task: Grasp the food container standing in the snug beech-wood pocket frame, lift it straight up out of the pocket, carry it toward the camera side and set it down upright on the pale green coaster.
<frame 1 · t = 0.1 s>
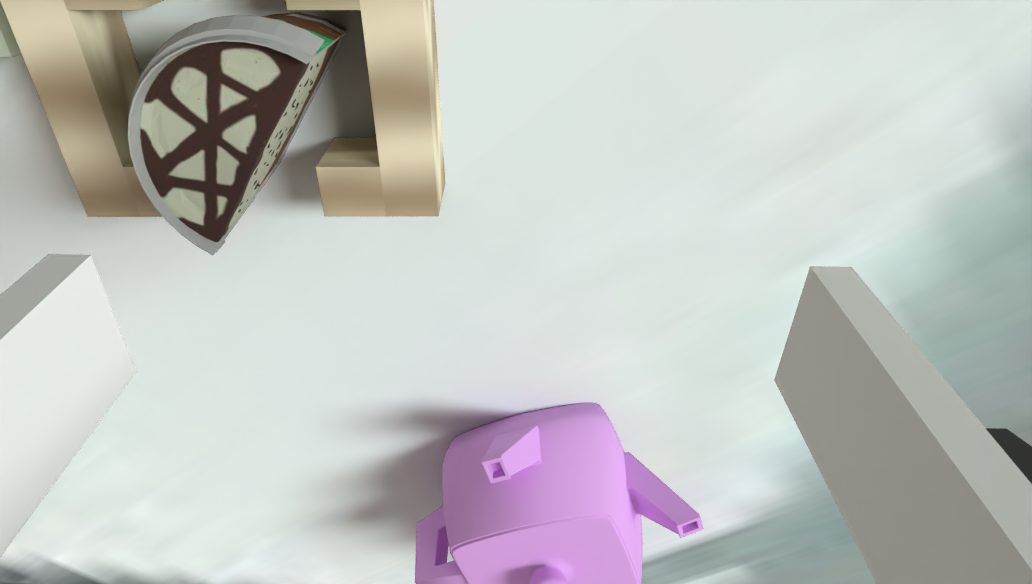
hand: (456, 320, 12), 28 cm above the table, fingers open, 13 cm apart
pocket frame: (262, 69, 37), on the table
teakettle: (545, 454, 55), on the table
food container: (263, 68, 37), on the table
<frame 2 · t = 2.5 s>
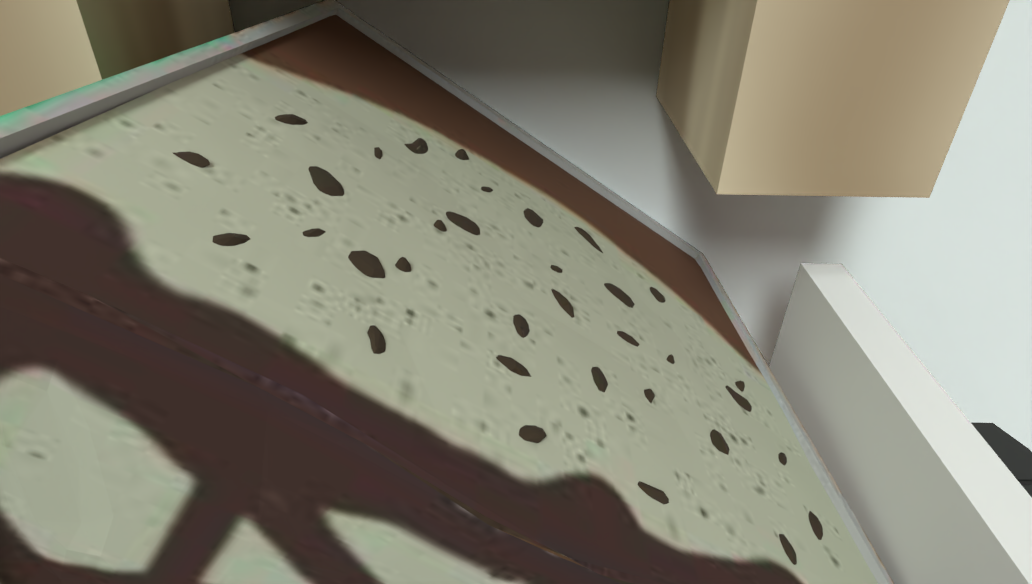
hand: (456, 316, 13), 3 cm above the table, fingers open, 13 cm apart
pocket frame: (457, 248, 15), on the table
food container: (458, 243, 15), on the table, touching gripper
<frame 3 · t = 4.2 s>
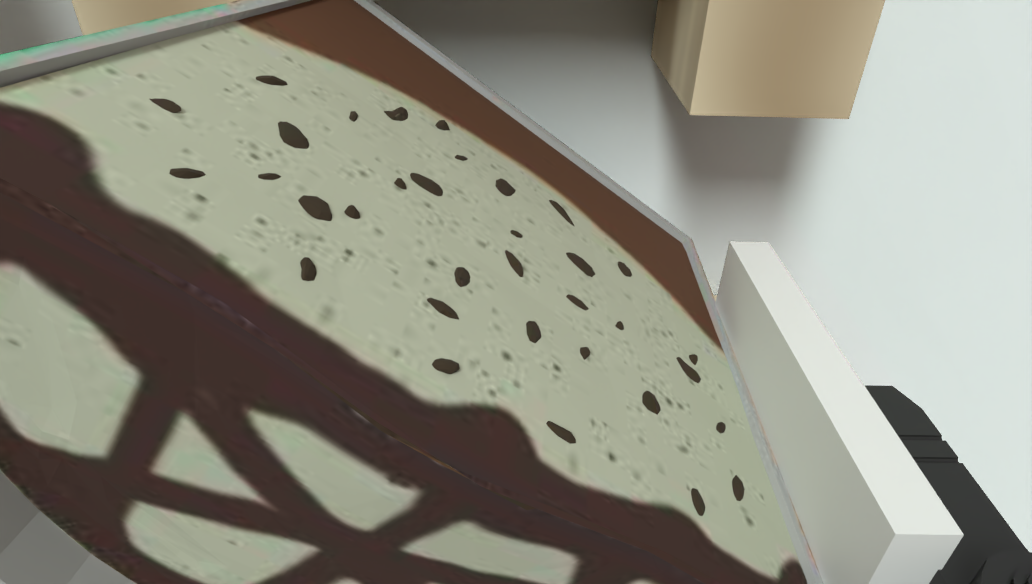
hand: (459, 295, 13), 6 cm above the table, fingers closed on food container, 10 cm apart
pocket frame: (488, 183, 18), on the table
food container: (456, 215, 16), point 3 cm above the table, touching gripper
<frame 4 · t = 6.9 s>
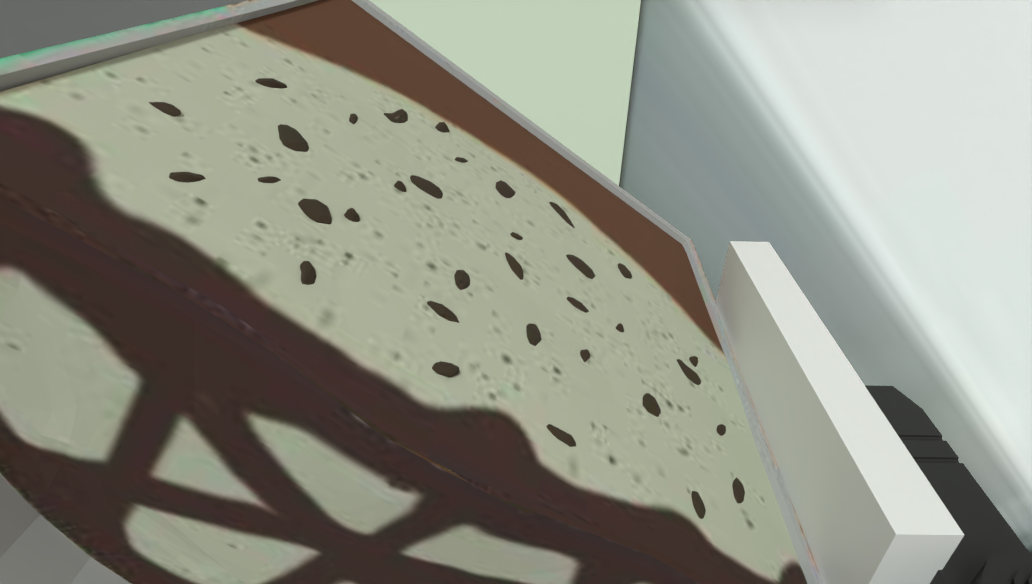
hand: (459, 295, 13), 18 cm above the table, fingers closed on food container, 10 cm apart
food container: (456, 217, 16), point 14 cm above the table, touching gripper
coaster: (487, 67, 28), on the table
when the fingers open (4 cm above the table, at t = 9.9 s): food container stays where it is, resting on coaster.
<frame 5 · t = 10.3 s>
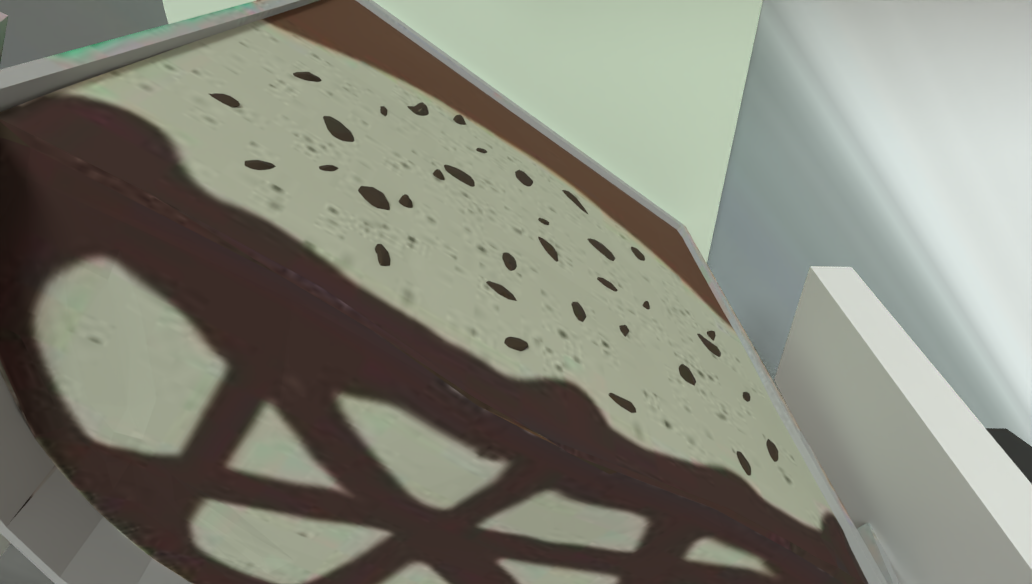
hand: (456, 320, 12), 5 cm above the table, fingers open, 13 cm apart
food container: (455, 212, 16), point 1 cm above the table, touching coaster
coaster: (470, 200, 17), on the table
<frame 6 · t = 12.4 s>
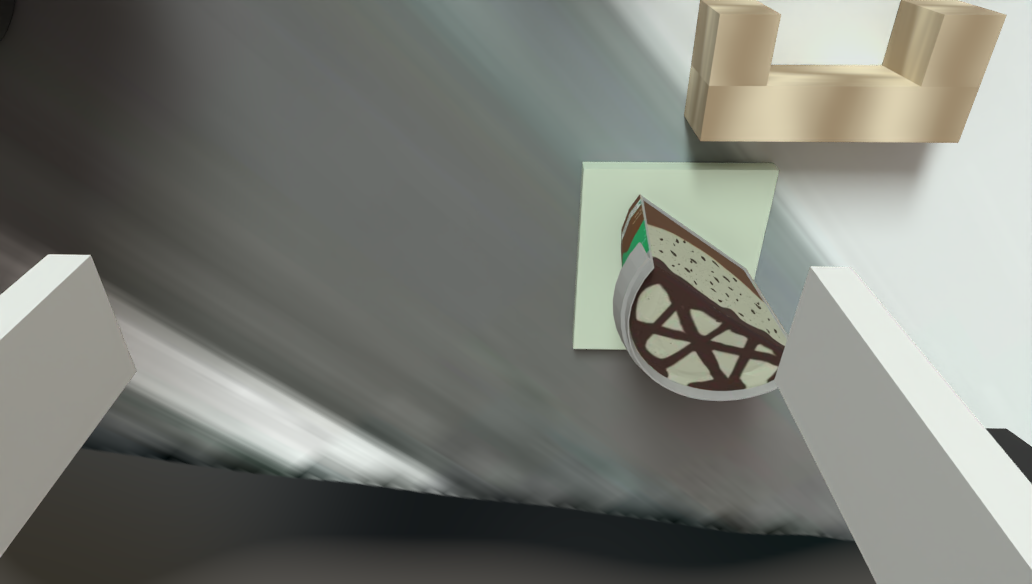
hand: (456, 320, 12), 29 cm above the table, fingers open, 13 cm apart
food container: (662, 263, 44), point 1 cm above the table, touching coaster
coaster: (664, 258, 45), on the table
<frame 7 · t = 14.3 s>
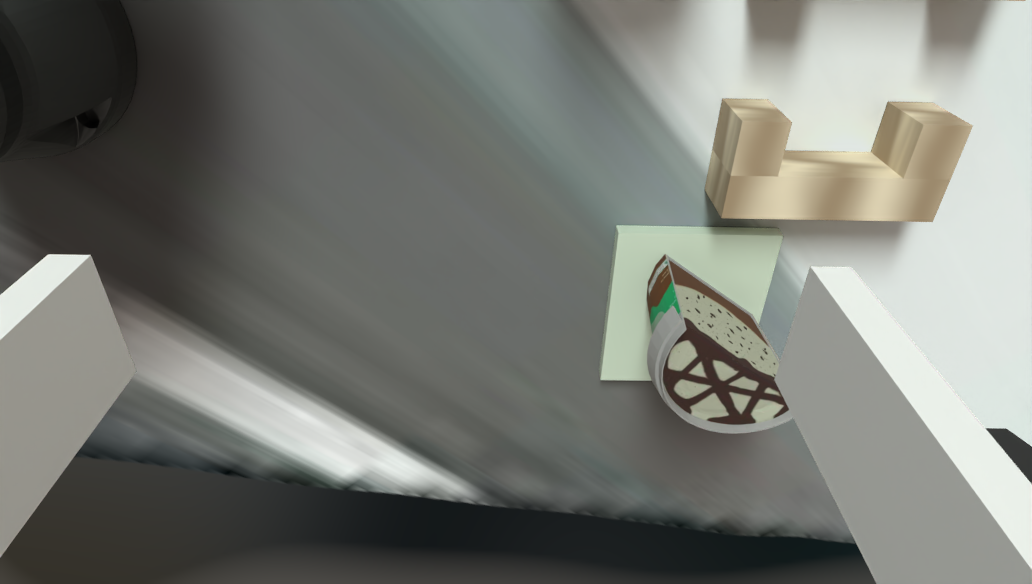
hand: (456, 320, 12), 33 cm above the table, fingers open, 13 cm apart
pocket frame: (843, 45, 41), on the table
food container: (681, 310, 51), point 1 cm above the table, touching coaster
coaster: (681, 304, 52), on the table
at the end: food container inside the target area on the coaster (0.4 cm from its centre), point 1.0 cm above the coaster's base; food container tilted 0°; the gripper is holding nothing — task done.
